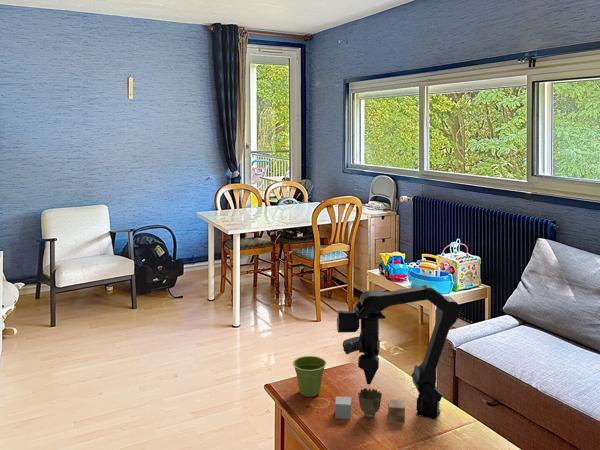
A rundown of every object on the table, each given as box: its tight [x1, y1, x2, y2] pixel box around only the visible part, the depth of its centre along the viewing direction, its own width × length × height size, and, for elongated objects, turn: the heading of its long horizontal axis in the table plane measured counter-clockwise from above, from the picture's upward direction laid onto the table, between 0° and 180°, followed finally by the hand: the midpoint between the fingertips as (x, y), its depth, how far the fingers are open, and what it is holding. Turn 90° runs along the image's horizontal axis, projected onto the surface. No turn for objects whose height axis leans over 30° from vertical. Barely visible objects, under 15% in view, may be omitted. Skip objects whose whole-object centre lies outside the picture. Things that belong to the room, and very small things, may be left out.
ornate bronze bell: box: [357, 387, 383, 419], centre depth 170 cm, size 8×7×8 cm
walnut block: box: [387, 399, 406, 423], centre depth 169 cm, size 5×5×5 cm
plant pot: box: [292, 355, 327, 398], centre depth 186 cm, size 12×12×11 cm
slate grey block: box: [334, 396, 352, 420], centre depth 172 cm, size 5×5×5 cm
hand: (369, 377), depth 170 cm, fingers open, 9 cm apart
